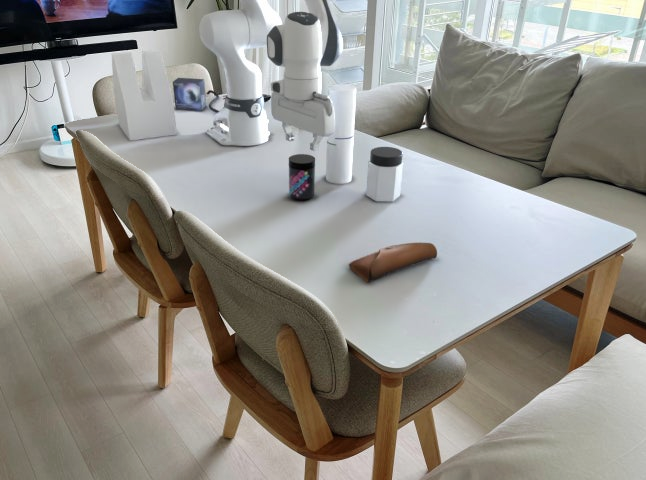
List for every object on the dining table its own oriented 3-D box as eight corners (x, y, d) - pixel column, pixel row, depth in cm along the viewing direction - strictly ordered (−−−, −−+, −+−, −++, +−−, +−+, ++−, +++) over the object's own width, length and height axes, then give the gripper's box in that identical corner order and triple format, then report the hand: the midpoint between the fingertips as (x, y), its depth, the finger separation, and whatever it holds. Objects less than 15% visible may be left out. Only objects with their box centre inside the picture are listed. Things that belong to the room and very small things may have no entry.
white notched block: (118, 124, 206) (106, 48, 193) (162, 119, 211) (153, 45, 198) (130, 140, 191) (118, 59, 178) (176, 134, 197) (168, 55, 184)
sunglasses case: (410, 243, 131) (423, 225, 126) (427, 268, 129) (441, 251, 124) (345, 265, 123) (356, 247, 117) (362, 292, 120) (374, 276, 115)
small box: (174, 110, 221) (171, 81, 216) (180, 105, 227) (177, 77, 221) (201, 111, 220) (199, 82, 215) (207, 106, 226) (204, 78, 220)
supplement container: (284, 194, 155) (283, 156, 150) (306, 190, 158) (307, 152, 152) (296, 204, 150) (296, 165, 144) (319, 199, 153) (320, 160, 147)
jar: (398, 189, 158) (402, 146, 152) (402, 202, 151) (406, 157, 145) (364, 189, 158) (367, 146, 152) (367, 201, 152) (370, 157, 145)
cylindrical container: (349, 184, 161) (354, 91, 148) (323, 182, 162) (326, 89, 149) (352, 175, 167) (358, 85, 154) (328, 173, 168) (331, 83, 155)
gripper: (342, 95, 134) (340, 153, 142) (286, 78, 148) (286, 132, 155) (321, 99, 131) (320, 159, 138) (265, 82, 144) (267, 137, 151)
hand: (302, 145), depth 147 cm, fingers open, 8 cm apart
